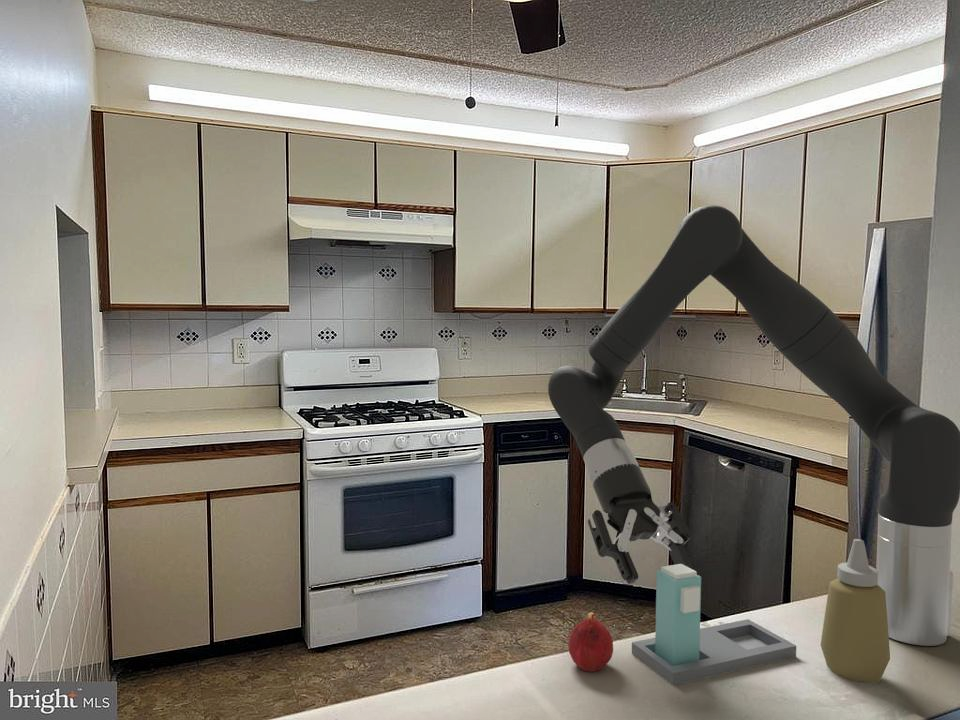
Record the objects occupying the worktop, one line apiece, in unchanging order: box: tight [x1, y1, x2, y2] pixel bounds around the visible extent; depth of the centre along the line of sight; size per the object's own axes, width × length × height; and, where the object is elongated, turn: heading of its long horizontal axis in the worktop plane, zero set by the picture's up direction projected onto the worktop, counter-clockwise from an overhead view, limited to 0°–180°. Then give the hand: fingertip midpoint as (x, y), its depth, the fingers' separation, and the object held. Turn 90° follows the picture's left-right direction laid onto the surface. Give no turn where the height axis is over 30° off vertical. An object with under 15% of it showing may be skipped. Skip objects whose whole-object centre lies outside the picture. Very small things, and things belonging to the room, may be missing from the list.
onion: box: [568, 611, 614, 673], centre depth 93 cm, size 6×6×8 cm
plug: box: [654, 564, 702, 666], centre depth 94 cm, size 4×5×13 cm
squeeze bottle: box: [820, 538, 891, 684], centre depth 92 cm, size 8×8×18 cm
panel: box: [631, 618, 797, 686], centre depth 97 cm, size 20×9×2 cm, turn 112°
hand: (660, 577), depth 97 cm, fingers open, 8 cm apart
